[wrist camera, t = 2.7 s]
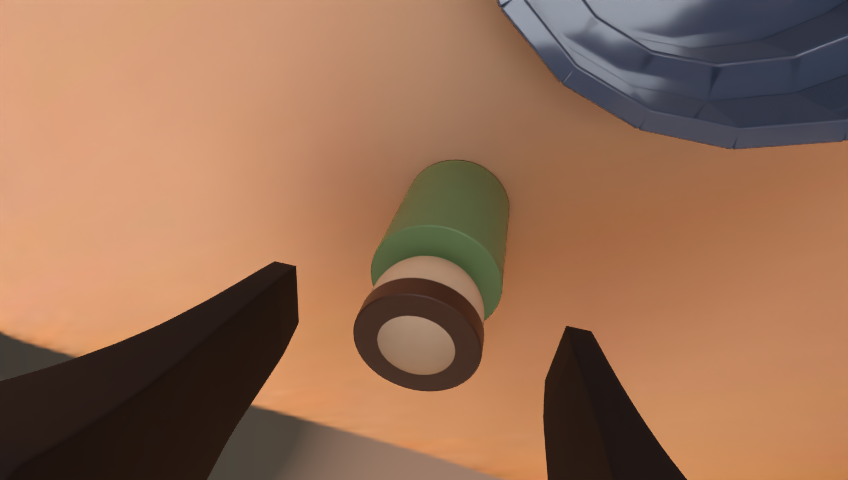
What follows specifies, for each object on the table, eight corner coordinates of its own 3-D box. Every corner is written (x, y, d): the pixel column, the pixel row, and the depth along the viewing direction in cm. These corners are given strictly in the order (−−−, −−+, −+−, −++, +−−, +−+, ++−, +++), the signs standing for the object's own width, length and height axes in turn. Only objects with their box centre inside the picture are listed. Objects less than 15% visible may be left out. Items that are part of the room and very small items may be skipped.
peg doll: (524, 233, 18) (520, 398, 11) (434, 262, 19) (383, 421, 13) (484, 143, 16) (451, 271, 9) (390, 181, 18) (304, 315, 11)
